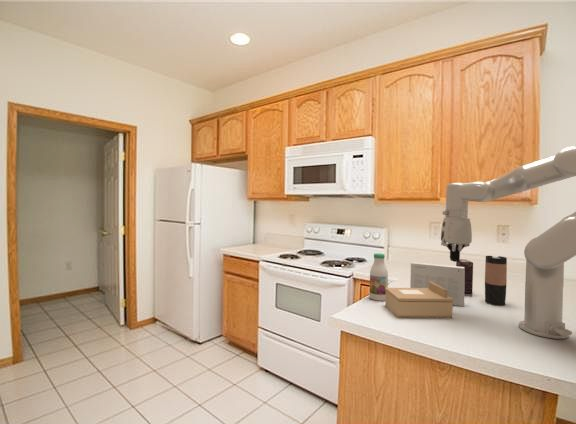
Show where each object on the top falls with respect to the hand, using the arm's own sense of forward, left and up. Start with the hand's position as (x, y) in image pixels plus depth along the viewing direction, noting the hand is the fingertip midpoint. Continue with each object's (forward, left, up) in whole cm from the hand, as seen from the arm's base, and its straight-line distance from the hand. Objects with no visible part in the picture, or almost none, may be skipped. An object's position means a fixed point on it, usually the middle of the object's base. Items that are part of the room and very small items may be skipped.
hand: (454, 260), depth 116 cm
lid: (0, +15, -14) cm, 20 cm away
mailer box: (0, +15, -20) cm, 25 cm away
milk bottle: (+16, +25, -20) cm, 36 cm away
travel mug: (+11, -24, -20) cm, 33 cm away
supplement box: (+25, -19, -20) cm, 37 cm away
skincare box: (+14, 0, -20) cm, 24 cm away
